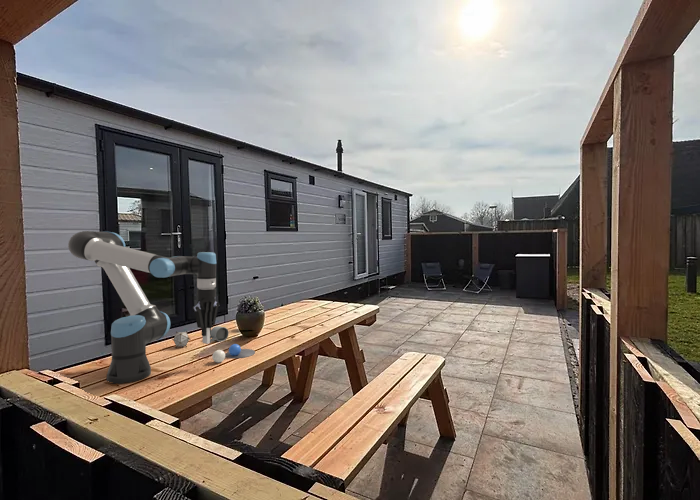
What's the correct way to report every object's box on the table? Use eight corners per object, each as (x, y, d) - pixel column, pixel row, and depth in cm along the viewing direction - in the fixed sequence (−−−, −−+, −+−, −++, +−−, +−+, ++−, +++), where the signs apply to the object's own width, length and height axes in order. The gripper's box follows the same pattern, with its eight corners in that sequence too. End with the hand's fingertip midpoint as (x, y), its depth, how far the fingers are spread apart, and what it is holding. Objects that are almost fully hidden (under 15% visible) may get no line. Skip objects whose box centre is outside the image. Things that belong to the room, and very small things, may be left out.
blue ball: (231, 342, 167) (240, 340, 172) (224, 349, 168) (232, 346, 173) (237, 353, 165) (245, 350, 170) (229, 359, 167) (237, 356, 172)
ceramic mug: (221, 337, 202) (221, 323, 202) (229, 339, 197) (228, 326, 196) (203, 341, 195) (202, 327, 194) (210, 344, 189) (210, 330, 189)
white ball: (226, 348, 164) (225, 360, 163) (213, 348, 162) (213, 361, 162) (224, 350, 158) (224, 363, 158) (211, 351, 157) (211, 364, 157)
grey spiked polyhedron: (182, 355, 182) (181, 342, 177) (169, 348, 184) (166, 335, 178) (195, 342, 190) (193, 330, 184) (181, 336, 191) (179, 323, 185)
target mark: (227, 360, 163) (227, 359, 163) (222, 351, 175) (222, 351, 175) (258, 355, 169) (258, 355, 169) (251, 347, 182) (251, 347, 182)
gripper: (200, 290, 146) (200, 348, 147) (224, 287, 158) (224, 340, 158) (187, 289, 149) (187, 345, 150) (211, 285, 161) (211, 338, 162)
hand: (206, 342), depth 154 cm, fingers closed
